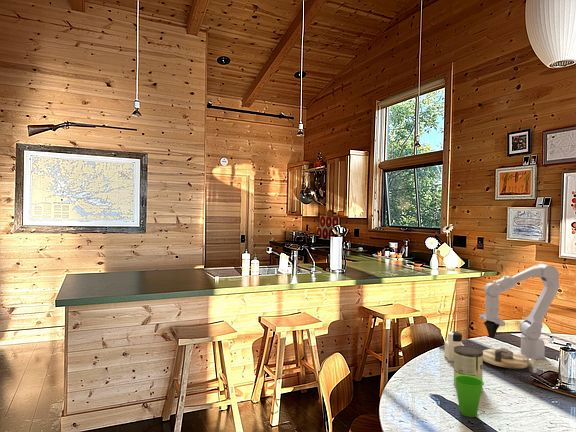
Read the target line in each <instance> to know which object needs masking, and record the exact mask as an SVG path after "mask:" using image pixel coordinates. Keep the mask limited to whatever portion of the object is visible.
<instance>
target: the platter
mask: <svg viewBox="0 0 576 432" xmlns="http://www.w3.org/2000/svg"><path fill="white" fill-rule="evenodd" d="M496 349H497V348H496ZM496 349H488V348H487V349H484V350H482V351H483V361H484V362H485V363H487V364H490V365H493V366H497V367H501V368H507V369H526V368H527V369H528V368H529V366H528V365H527V362H526V361H524V360H522V359H525V360H527V359H529V358H528V357H526V356H524V355H521V354H519V353H520V352H514V351H512V352H513V359H502V358H501V351H496Z"/></svg>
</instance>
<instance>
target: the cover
mask: <svg viewBox="0 0 576 432" xmlns="http://www.w3.org/2000/svg"><path fill="white" fill-rule="evenodd" d="M496 351H501V358H502V359H513V352H514V351H511V350H509V349H508V348H504V347H501V348H496Z"/></svg>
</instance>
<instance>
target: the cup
mask: <svg viewBox="0 0 576 432" xmlns="http://www.w3.org/2000/svg"><path fill="white" fill-rule="evenodd" d="M454 380H455V382H456V387H455V389H456V393H457V395H456V396H457V400H458V401H457V402H458V408H459V413H460V414H461V415H462V416H465V417H470V418H475V417H476V416H477V414H478V411H479V406H480V401H481V396H482V390H483V389H482V388H483V386H484V385H485V382H484V380H483V379H482V380H481V379H480V378H477V377H474V376H470V375H457V376H455V377H454V376H453V381H454Z"/></svg>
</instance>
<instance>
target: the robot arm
mask: <svg viewBox="0 0 576 432" xmlns="http://www.w3.org/2000/svg"><path fill="white" fill-rule="evenodd" d="M560 275H561V274H560V272H559V270H558V268H557V267H555V266H554V265H550V264H546V263H544V262H543V263H538V264H535V265H532V266H530V267H529V268H526V269H524V270H523V271H521V272H519V273H517V274H515V275H513V276H510V275H503V276H502V277H501V278H500V279H497V280H495V279H494V280H493V281H492V282H488V283H485V286H484V287H483V291H484V293H485V301H484V302H485V303H484V304H485V305H484V306H485V310H484V311H485V312H484V313H485V314H479V319H480V320H484V321H483V324H484V326H485V328H486V331H487V334H488V338H489V339H493V338H496V333H497V331H498V329H499V327H505V326H506V321H504V320H503V319H500V313H499V308H500V305H499V304H500V300H499V299H500V298H499V297H500V295H501V293H503V292H506V291H508V290H510V289H513V288H515V287H516V285H517V284H518V283H520V282H522V281H526V280H528V279H530V278H533V277H534V278H540V280H541V281H542V282H543V285H544V287H543V289H542V290H541V292H540V294H539V296H538V298H537V300H536V302H535V304H534V306H533V307H532V310H531V312H530V314H529V315H527V316H526V317H525V318H524V320H523V321H521V322H520V323H519V326H518V328H519V331H520V333H521V335H520V352H518V353H519V354H521V355H524V356H526V357H528V358H529V359H534V360H543V359H547V358H546V356H545V353H546V352H545V351H546V350H545V348H546V346H545V341H544V339H543V338H542V337H541V336H542V329H543V327H544V326H543V320H544V318H545V316H546V314H547V312H548V310H549V309H550V306H551V304H552V302H553V301H554V300H555V297H556V295H557V293H558V291H559V289H560Z"/></svg>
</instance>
